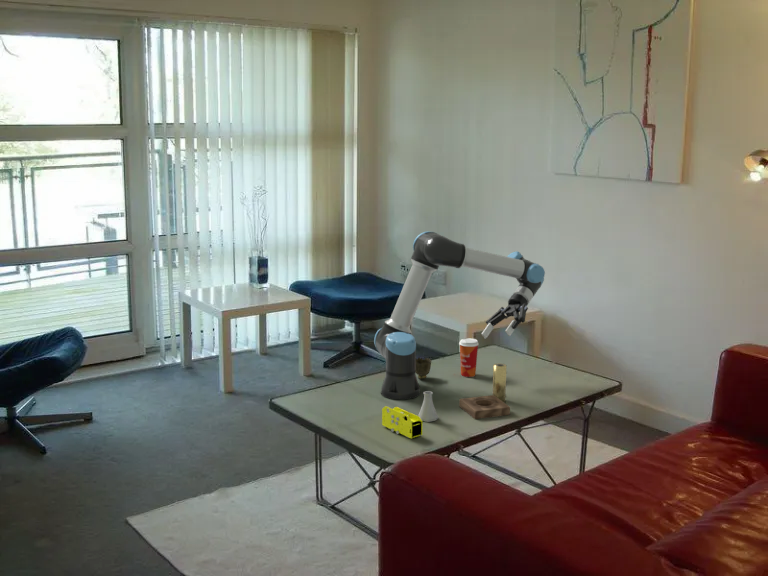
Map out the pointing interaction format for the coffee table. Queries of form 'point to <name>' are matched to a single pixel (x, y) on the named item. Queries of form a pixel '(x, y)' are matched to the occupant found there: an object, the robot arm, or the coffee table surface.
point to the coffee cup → (468, 356)
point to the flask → (428, 408)
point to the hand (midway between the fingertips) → (495, 335)
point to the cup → (422, 367)
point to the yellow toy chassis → (402, 422)
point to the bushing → (499, 381)
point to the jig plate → (484, 407)
